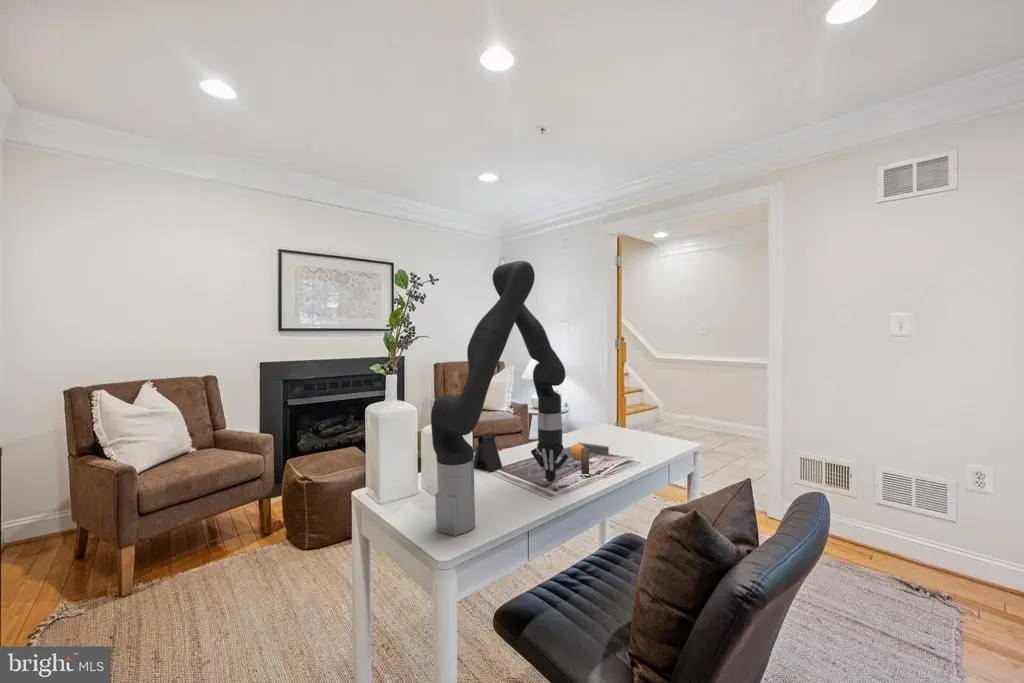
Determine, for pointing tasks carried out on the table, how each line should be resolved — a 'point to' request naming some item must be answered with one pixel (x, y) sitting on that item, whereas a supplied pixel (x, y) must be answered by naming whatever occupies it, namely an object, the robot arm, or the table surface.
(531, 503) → the table surface
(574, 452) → the ball
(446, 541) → the table surface
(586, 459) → the right post
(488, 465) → the phone stand
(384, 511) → the table surface
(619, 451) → the table surface
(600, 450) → the wall
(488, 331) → the robot arm
